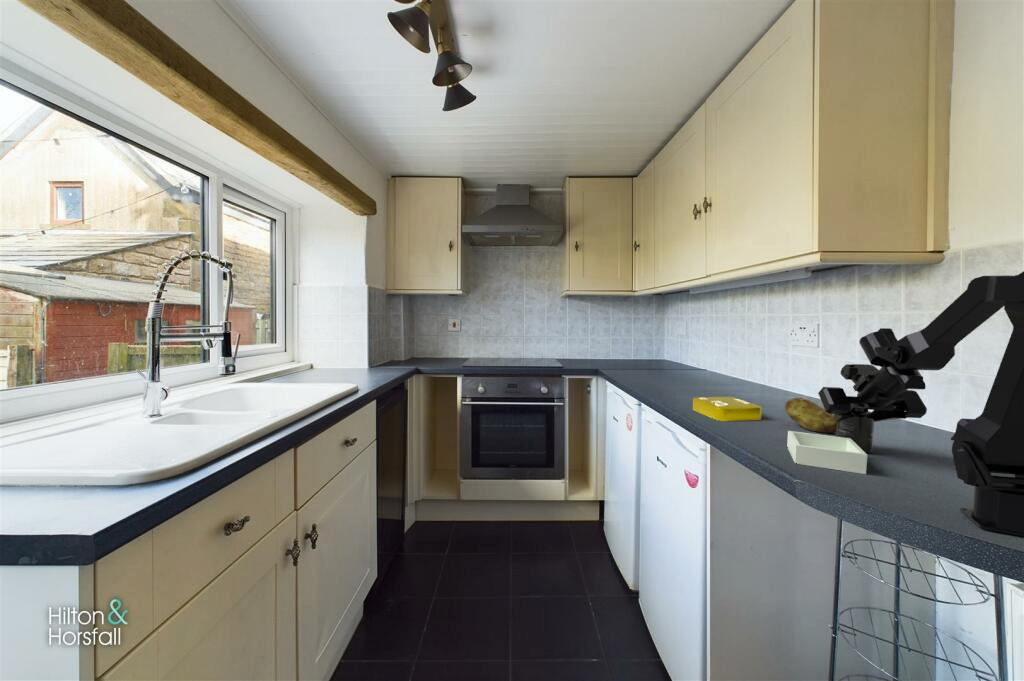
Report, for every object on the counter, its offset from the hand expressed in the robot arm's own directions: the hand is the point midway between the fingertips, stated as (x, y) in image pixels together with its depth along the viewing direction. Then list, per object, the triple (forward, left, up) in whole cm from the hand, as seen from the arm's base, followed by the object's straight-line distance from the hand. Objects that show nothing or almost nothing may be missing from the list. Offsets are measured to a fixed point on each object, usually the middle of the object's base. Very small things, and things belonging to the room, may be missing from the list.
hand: (851, 420), depth 96 cm
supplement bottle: (-1, 0, -7) cm, 7 cm away
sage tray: (-13, +8, -7) cm, 17 cm away
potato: (+14, +6, -7) cm, 16 cm away
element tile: (+20, +26, -7) cm, 34 cm away
